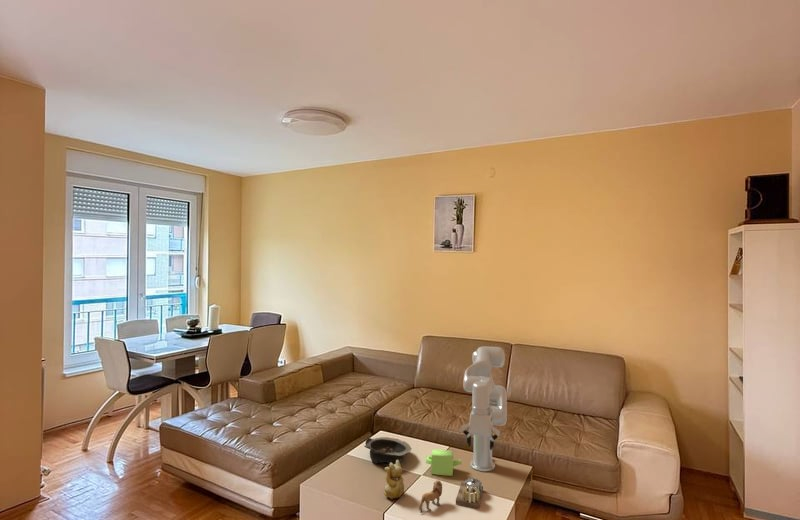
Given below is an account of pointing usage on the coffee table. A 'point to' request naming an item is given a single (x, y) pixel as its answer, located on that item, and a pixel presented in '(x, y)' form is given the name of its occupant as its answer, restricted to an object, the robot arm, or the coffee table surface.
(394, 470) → the decorative figurine
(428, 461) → the green square teapot
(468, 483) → the grey gear
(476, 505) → the gear board
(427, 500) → the lion figurine
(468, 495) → the brass gear
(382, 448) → the stone bowl
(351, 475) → the coffee table surface
